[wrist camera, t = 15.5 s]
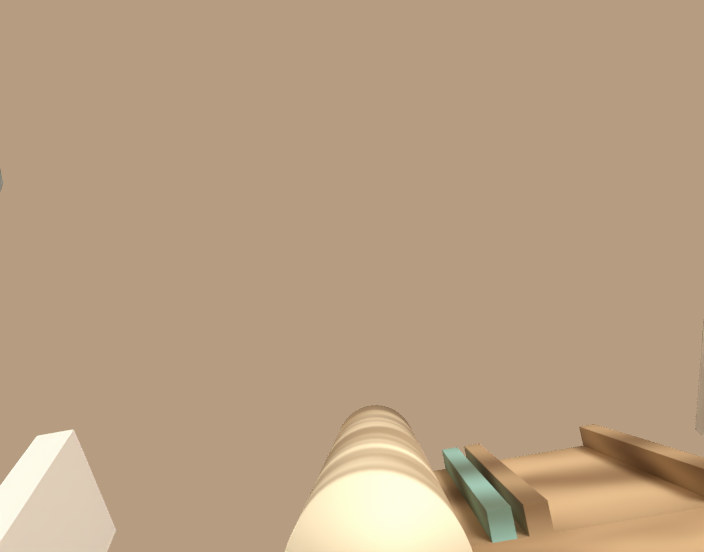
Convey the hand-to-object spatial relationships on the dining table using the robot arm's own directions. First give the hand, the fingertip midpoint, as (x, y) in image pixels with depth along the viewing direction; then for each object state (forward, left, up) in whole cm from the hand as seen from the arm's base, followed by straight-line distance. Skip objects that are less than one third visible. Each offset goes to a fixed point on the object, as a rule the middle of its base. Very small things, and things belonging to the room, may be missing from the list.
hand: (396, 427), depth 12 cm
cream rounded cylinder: (-5, +8, -5) cm, 10 cm away
